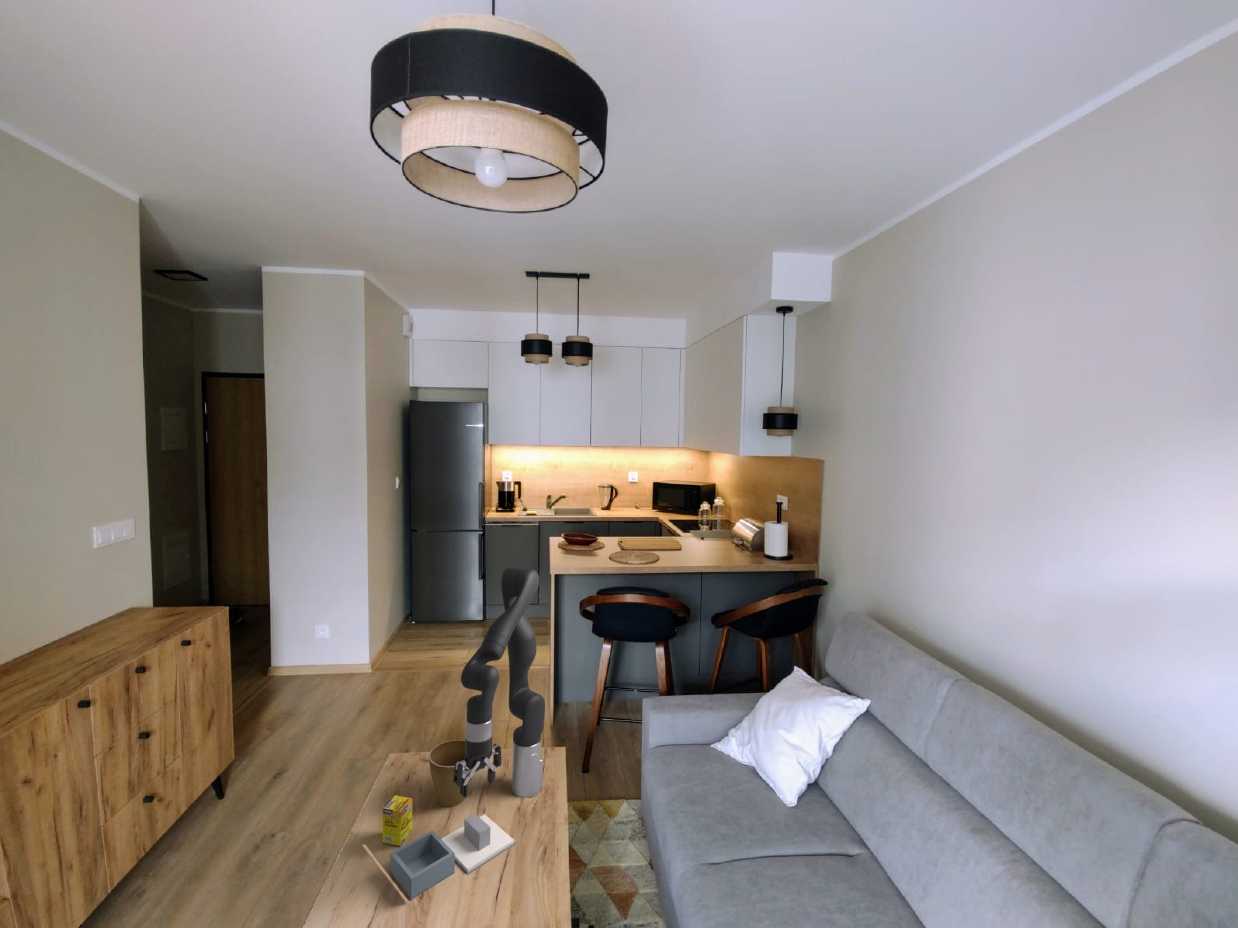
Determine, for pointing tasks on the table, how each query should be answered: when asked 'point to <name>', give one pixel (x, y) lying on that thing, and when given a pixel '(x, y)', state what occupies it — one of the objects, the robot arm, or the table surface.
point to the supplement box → (397, 821)
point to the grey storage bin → (422, 864)
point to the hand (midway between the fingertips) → (477, 789)
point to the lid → (477, 841)
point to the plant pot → (447, 771)
